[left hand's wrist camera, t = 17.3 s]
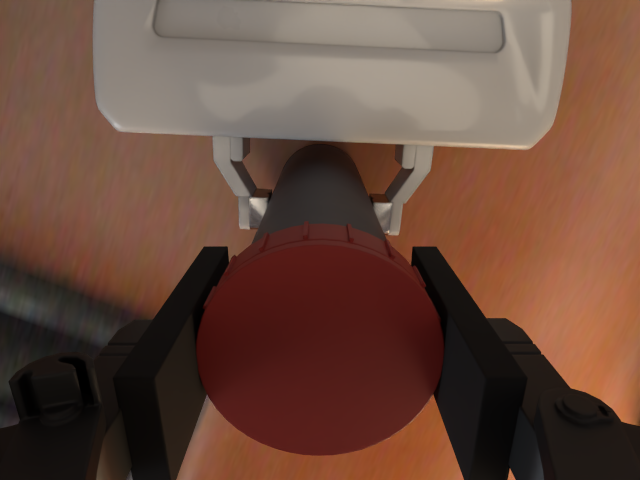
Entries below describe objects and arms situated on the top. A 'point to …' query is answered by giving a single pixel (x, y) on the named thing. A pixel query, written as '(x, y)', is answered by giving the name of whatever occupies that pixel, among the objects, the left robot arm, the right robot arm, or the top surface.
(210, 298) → the lid
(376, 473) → the top surface
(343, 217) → the screw-top jar
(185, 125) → the right robot arm
